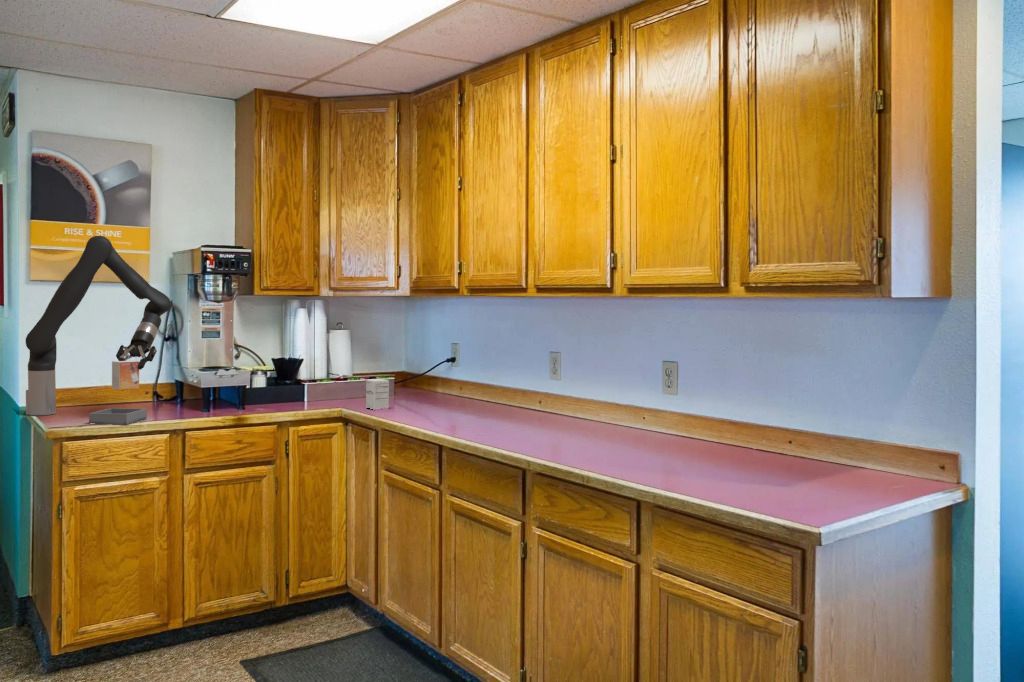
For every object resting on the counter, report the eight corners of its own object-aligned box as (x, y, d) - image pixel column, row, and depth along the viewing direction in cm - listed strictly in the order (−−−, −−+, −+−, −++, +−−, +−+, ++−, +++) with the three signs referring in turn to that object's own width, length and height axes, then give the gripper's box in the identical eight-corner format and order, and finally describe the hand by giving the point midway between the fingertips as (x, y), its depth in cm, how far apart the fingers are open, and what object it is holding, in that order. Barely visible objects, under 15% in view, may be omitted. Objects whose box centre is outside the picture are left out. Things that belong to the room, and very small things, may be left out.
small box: (119, 390, 302) (119, 362, 301) (111, 388, 305) (111, 361, 304) (139, 388, 308) (139, 361, 308) (132, 387, 312) (131, 360, 311)
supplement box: (365, 408, 341) (365, 379, 340) (381, 407, 346) (381, 378, 345) (373, 411, 335) (373, 380, 335) (389, 409, 340) (389, 380, 339)
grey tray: (89, 424, 291) (89, 413, 291) (110, 418, 305) (110, 407, 305) (126, 425, 291) (126, 414, 290) (146, 419, 304) (146, 408, 304)
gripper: (123, 329, 316) (107, 361, 305) (159, 330, 315) (144, 362, 304) (130, 341, 321) (114, 373, 311) (165, 342, 321) (151, 374, 310)
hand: (129, 367), depth 307 cm, fingers closed on small box, 7 cm apart
